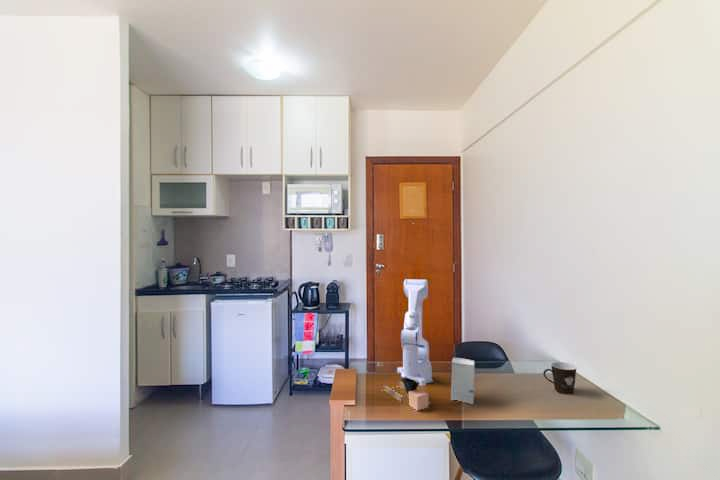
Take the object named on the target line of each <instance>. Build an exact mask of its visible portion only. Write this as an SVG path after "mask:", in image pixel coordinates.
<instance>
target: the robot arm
mask: <svg viewBox="0 0 720 480" xmlns="http://www.w3.org/2000/svg"><path fill="white" fill-rule="evenodd" d="M428 290H429V283H428V280H427V279H413V278H412V279H408V278H405V279H404V281H403V292H404V294H405V296H406V298H408V311H406V312H405V314H404V320H403V321H404V322H403V329H401V333H400V342H401V350H402V366H398V367H397V369H396V373H397V374H400V377H401V382H403V384H404V386H405V389H406V392H407V396H408V398H409V394H408V392H409V391H413V390H416V389H418V387H419V386H420V387H423V386H426V385H427V384H428V383H432V382H434V380H433V376H432V375H433V373H432V370H433V368H432V367H433V366H432V362H431V361H430V360H429V359H430V346H429V345H430V343H429V342H428V340H426V339H425V338H424V337H423V302H424V300H426V299H427V298H428V295H429V291H428Z"/></svg>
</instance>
